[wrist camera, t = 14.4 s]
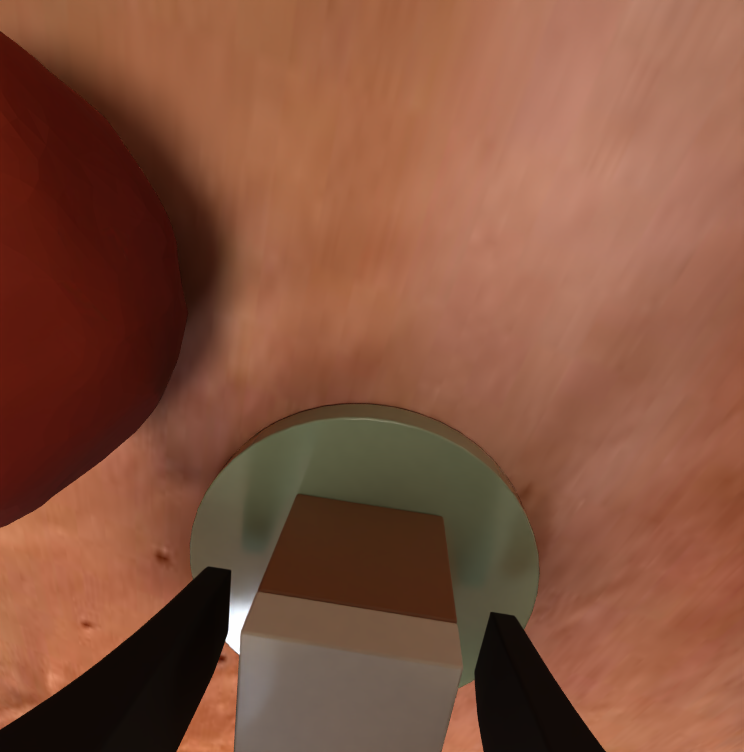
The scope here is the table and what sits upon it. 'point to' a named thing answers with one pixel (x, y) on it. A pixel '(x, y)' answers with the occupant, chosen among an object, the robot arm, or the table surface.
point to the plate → (378, 488)
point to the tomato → (75, 287)
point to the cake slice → (350, 635)
